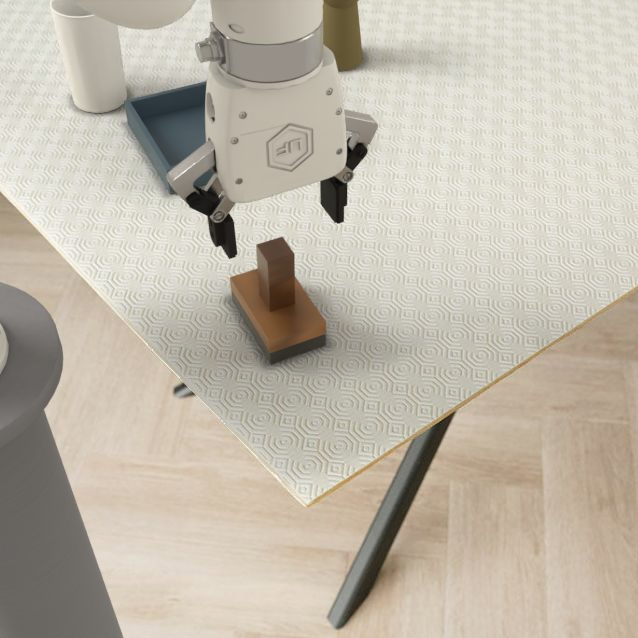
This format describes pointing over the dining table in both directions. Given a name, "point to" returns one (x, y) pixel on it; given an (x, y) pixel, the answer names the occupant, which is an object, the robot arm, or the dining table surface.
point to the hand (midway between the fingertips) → (280, 230)
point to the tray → (170, 127)
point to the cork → (342, 32)
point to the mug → (90, 57)
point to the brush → (277, 304)
